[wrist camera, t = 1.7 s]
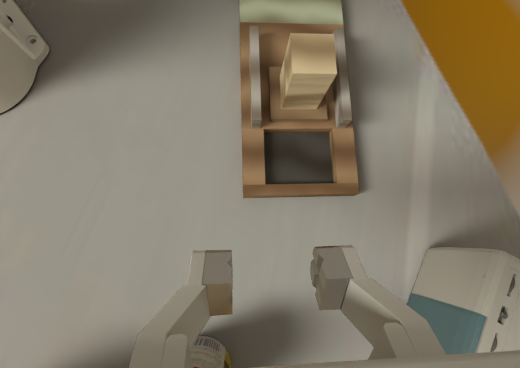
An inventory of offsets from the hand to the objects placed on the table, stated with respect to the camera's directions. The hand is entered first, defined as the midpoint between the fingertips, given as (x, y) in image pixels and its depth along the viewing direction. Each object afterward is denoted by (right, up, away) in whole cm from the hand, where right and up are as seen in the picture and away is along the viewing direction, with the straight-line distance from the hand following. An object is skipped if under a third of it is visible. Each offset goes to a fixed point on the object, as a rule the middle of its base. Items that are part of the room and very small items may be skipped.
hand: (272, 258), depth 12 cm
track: (+5, +19, +34) cm, 39 cm away
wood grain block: (+5, +16, +31) cm, 35 cm away
